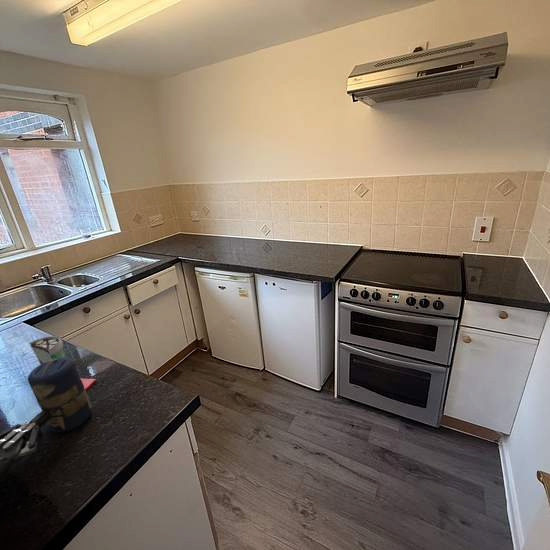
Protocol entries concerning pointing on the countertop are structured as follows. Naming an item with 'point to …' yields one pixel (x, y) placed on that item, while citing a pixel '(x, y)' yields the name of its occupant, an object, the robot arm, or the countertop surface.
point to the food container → (47, 348)
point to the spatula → (88, 383)
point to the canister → (61, 393)
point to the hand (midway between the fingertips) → (48, 413)
